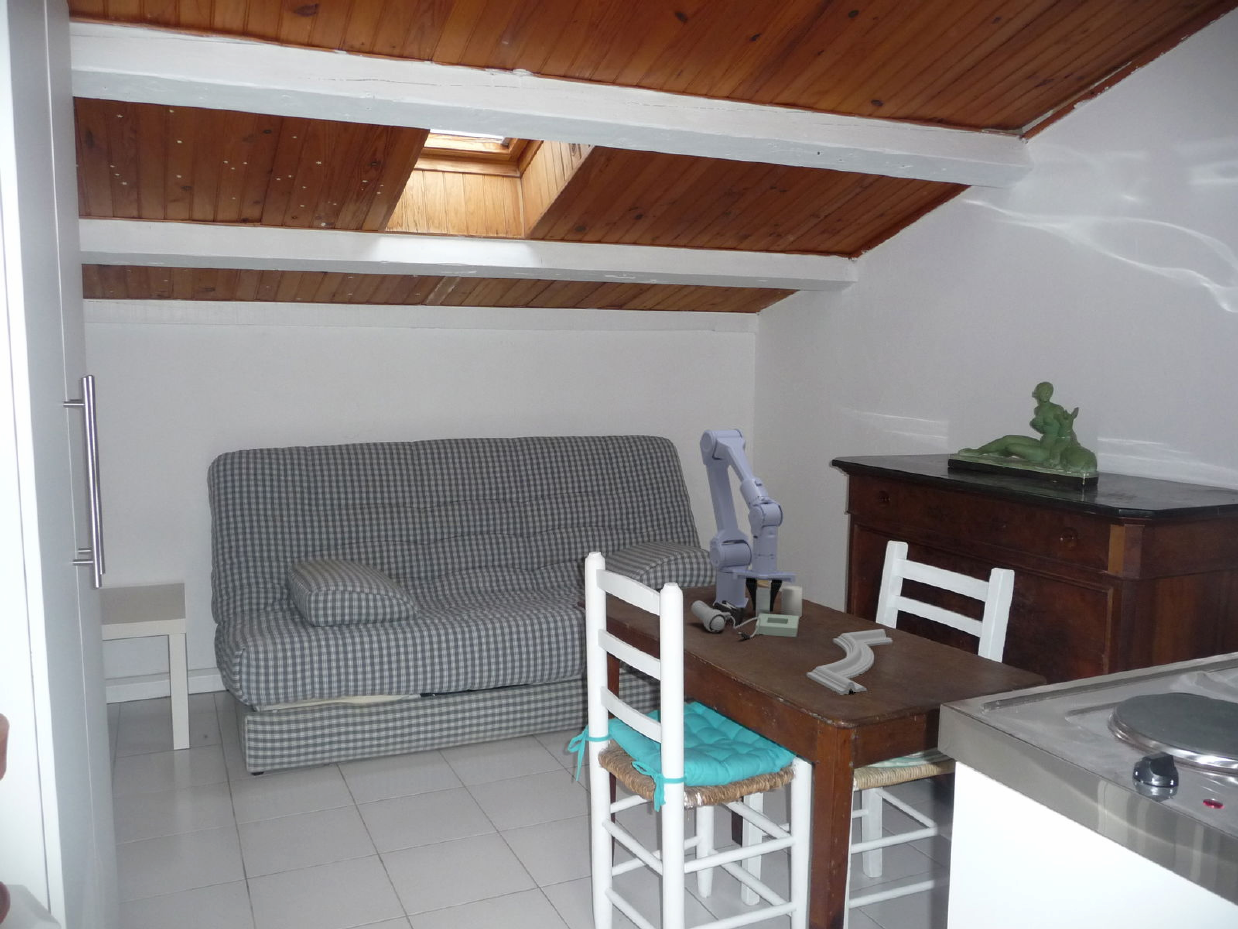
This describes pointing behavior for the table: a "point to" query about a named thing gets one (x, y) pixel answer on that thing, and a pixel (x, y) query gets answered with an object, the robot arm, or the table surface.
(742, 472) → the robot arm
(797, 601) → the cream round peg
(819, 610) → the table surface
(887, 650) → the table surface
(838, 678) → the molding
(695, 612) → the clip-on lamp
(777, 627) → the socket board
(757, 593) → the steel square peg
